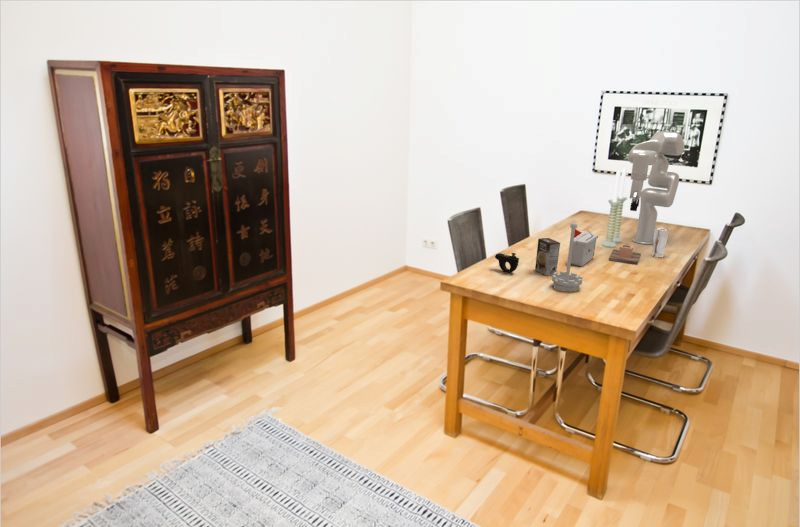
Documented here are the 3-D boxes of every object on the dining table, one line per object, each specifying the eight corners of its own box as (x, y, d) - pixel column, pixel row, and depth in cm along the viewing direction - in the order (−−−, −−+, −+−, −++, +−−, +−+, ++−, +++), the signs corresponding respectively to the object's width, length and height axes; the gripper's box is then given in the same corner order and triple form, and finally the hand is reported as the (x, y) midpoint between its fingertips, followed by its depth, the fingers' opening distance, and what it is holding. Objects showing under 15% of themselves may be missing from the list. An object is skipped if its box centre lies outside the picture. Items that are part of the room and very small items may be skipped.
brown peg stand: (613, 251, 304) (615, 238, 301) (640, 256, 298) (642, 242, 295) (608, 260, 288) (610, 246, 286) (637, 264, 282) (639, 250, 280)
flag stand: (563, 294, 240) (572, 227, 231) (545, 284, 251) (552, 220, 242) (587, 290, 245) (596, 224, 236) (568, 281, 256) (576, 217, 247)
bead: (619, 253, 296) (621, 244, 295) (631, 254, 294) (633, 245, 292) (618, 256, 291) (619, 246, 290) (630, 257, 289) (632, 248, 287)
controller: (514, 275, 262) (516, 255, 258) (492, 269, 270) (494, 249, 267) (519, 273, 264) (521, 253, 261) (497, 267, 273) (499, 248, 270)
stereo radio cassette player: (580, 255, 296) (585, 218, 290) (595, 258, 292) (600, 221, 286) (566, 264, 280) (571, 226, 274) (583, 268, 276) (588, 229, 269)
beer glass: (665, 258, 294) (670, 231, 290) (651, 257, 296) (656, 230, 291) (662, 254, 301) (667, 227, 296) (649, 253, 302) (653, 227, 298)
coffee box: (534, 270, 270) (537, 238, 265) (545, 268, 273) (548, 237, 268) (545, 276, 262) (549, 243, 257) (556, 274, 265) (560, 242, 260)
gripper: (632, 172, 296) (628, 204, 302) (629, 178, 281) (624, 211, 287) (648, 174, 292) (643, 205, 298) (645, 180, 278) (640, 213, 284)
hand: (634, 208), depth 293 cm, fingers open, 9 cm apart
